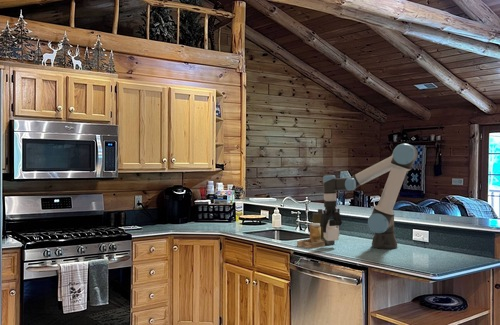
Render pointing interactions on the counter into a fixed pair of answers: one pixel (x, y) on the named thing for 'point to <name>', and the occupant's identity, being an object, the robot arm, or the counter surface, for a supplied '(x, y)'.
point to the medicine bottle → (332, 231)
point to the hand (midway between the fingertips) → (331, 237)
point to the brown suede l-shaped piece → (315, 238)
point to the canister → (318, 221)
